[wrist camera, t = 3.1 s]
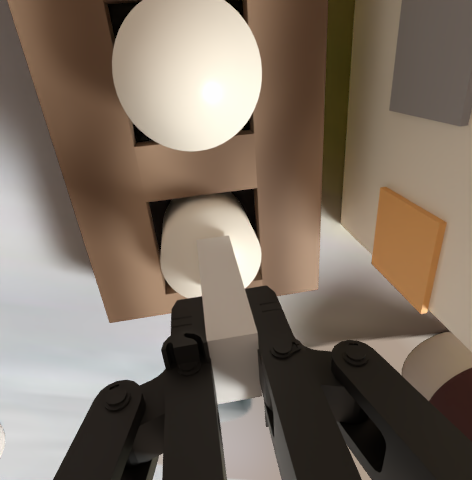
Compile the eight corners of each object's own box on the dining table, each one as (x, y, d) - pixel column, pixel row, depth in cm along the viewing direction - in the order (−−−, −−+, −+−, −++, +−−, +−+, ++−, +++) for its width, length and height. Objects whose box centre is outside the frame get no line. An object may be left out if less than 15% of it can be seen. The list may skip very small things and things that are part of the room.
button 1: (170, 264, 21) (169, 308, 17) (155, 190, 19) (151, 221, 15) (248, 253, 22) (263, 293, 18) (242, 179, 20) (258, 207, 16)
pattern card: (336, 227, 24) (467, 361, 13) (362, -229, 14) (922, -1100, 4) (354, 224, 24) (499, 355, 13) (393, -229, 14) (1020, -1070, 4)
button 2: (141, 136, 16) (130, 158, 12) (116, 12, 14) (93, -8, 10) (244, 124, 16) (264, 143, 13) (236, 3, 14) (258, -19, 10)
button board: (119, 282, 23) (109, 323, 19) (-46, -304, 12) (-140, -460, 8) (297, 256, 24) (318, 289, 21) (298, -300, 13) (343, -435, 9)
